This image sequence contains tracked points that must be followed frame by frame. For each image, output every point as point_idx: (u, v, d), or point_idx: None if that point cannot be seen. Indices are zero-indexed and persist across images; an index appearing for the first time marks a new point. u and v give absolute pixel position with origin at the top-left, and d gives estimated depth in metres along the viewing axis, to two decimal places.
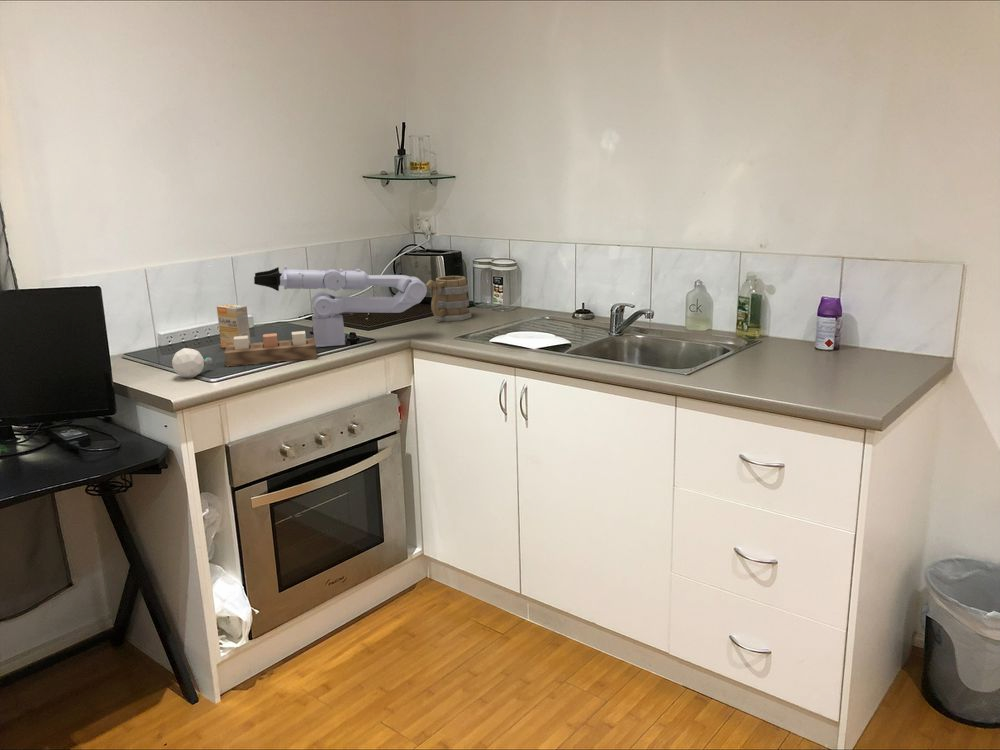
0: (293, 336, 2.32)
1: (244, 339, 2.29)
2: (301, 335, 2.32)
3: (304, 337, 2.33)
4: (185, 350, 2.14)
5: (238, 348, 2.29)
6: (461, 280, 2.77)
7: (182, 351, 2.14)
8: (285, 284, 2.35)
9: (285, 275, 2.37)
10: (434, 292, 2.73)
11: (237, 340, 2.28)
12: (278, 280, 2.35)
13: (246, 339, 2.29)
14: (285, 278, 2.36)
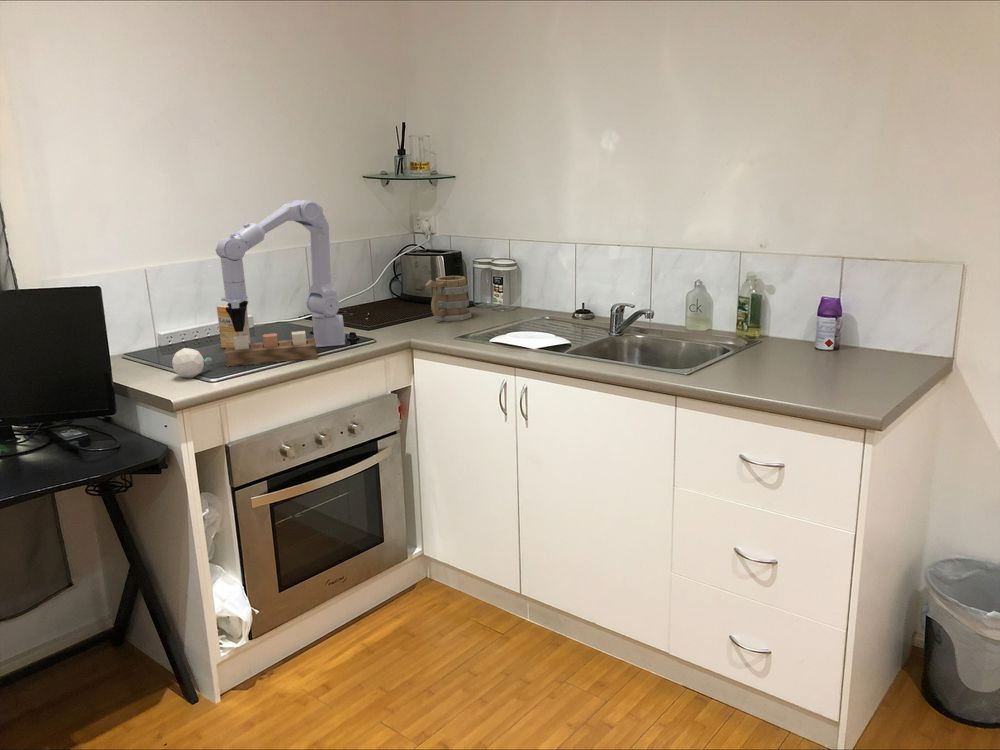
0: (293, 336, 2.32)
1: (244, 339, 2.29)
2: (301, 335, 2.32)
3: (304, 337, 2.33)
4: (185, 350, 2.14)
5: (238, 348, 2.29)
6: (461, 280, 2.77)
7: (182, 351, 2.14)
8: (237, 302, 2.21)
9: (229, 301, 2.23)
10: (434, 292, 2.73)
11: (237, 340, 2.28)
12: (234, 309, 2.22)
13: (246, 339, 2.29)
14: (231, 302, 2.21)
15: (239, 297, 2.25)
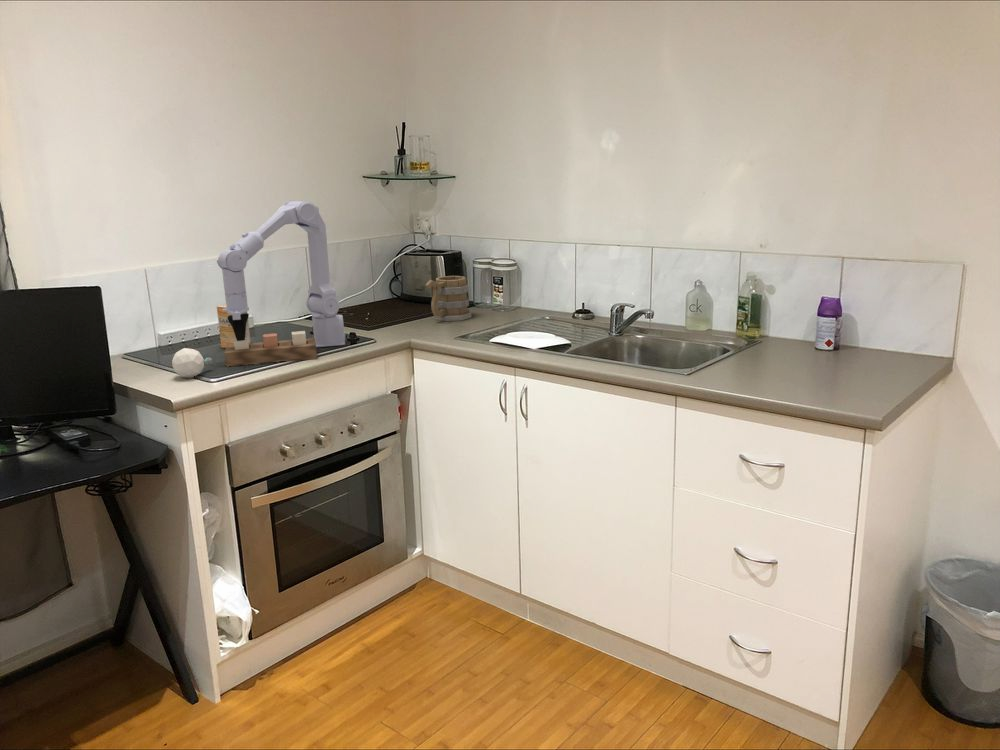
0: (293, 336, 2.32)
1: (244, 342, 2.29)
2: (301, 335, 2.32)
3: (304, 337, 2.33)
4: (185, 350, 2.14)
5: None
6: (461, 280, 2.77)
7: (182, 351, 2.14)
8: (238, 314, 2.21)
9: (230, 312, 2.24)
10: (434, 292, 2.73)
11: (237, 343, 2.28)
12: None
13: (246, 342, 2.29)
14: (232, 314, 2.22)
15: (240, 308, 2.26)
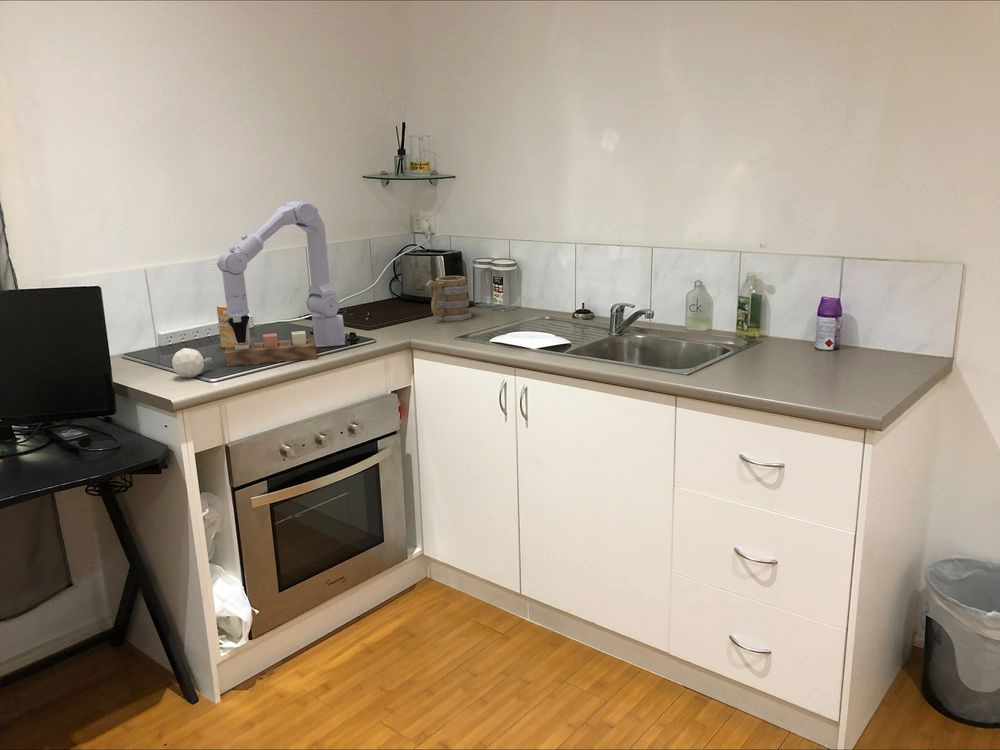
0: (293, 336, 2.32)
1: (245, 348, 2.29)
2: (301, 335, 2.32)
3: (304, 337, 2.33)
4: (185, 350, 2.14)
5: None
6: (461, 280, 2.77)
7: (182, 351, 2.14)
8: (238, 316, 2.22)
9: (230, 315, 2.24)
10: (434, 292, 2.73)
11: (238, 349, 2.29)
12: None
13: (247, 348, 2.30)
14: (232, 316, 2.22)
15: (241, 311, 2.26)
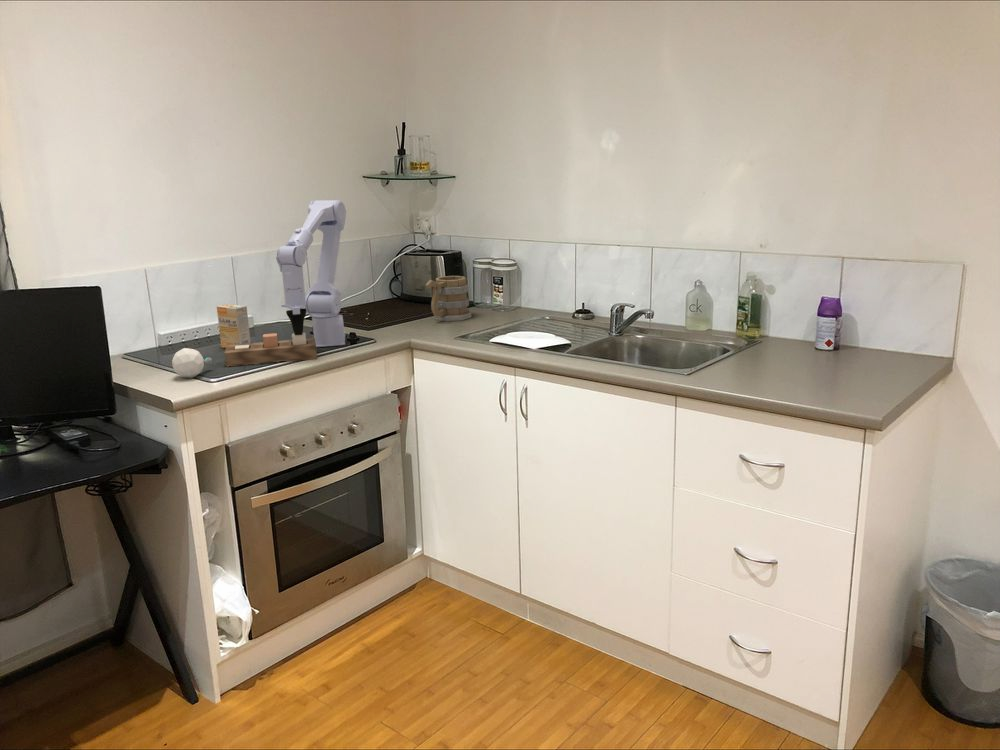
0: (293, 338, 2.32)
1: (245, 348, 2.29)
2: (301, 337, 2.33)
3: (304, 339, 2.33)
4: (185, 350, 2.14)
5: None
6: (461, 280, 2.77)
7: (182, 351, 2.14)
8: (298, 308, 2.25)
9: (289, 307, 2.27)
10: (434, 292, 2.73)
11: (238, 349, 2.29)
12: None
13: (247, 348, 2.30)
14: (292, 308, 2.25)
15: (299, 303, 2.29)
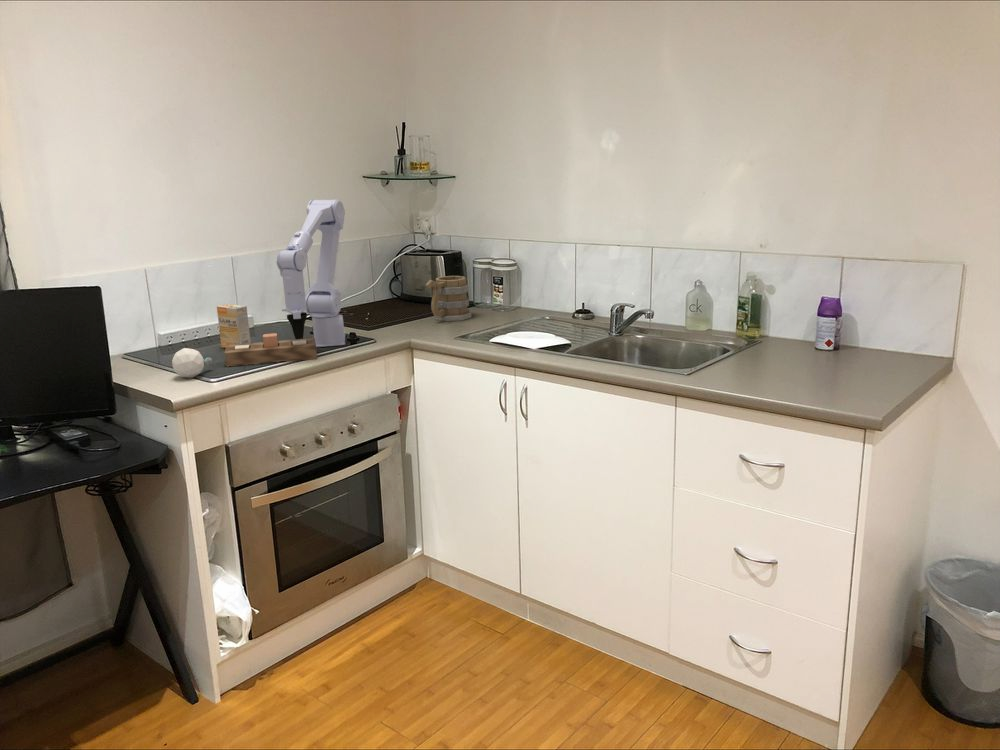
0: None
1: (245, 348, 2.29)
2: None
3: None
4: (185, 350, 2.14)
5: None
6: (461, 280, 2.77)
7: (182, 351, 2.14)
8: (298, 313, 2.25)
9: (290, 312, 2.28)
10: (434, 292, 2.73)
11: (238, 349, 2.29)
12: None
13: (247, 348, 2.30)
14: (292, 313, 2.26)
15: (300, 307, 2.30)
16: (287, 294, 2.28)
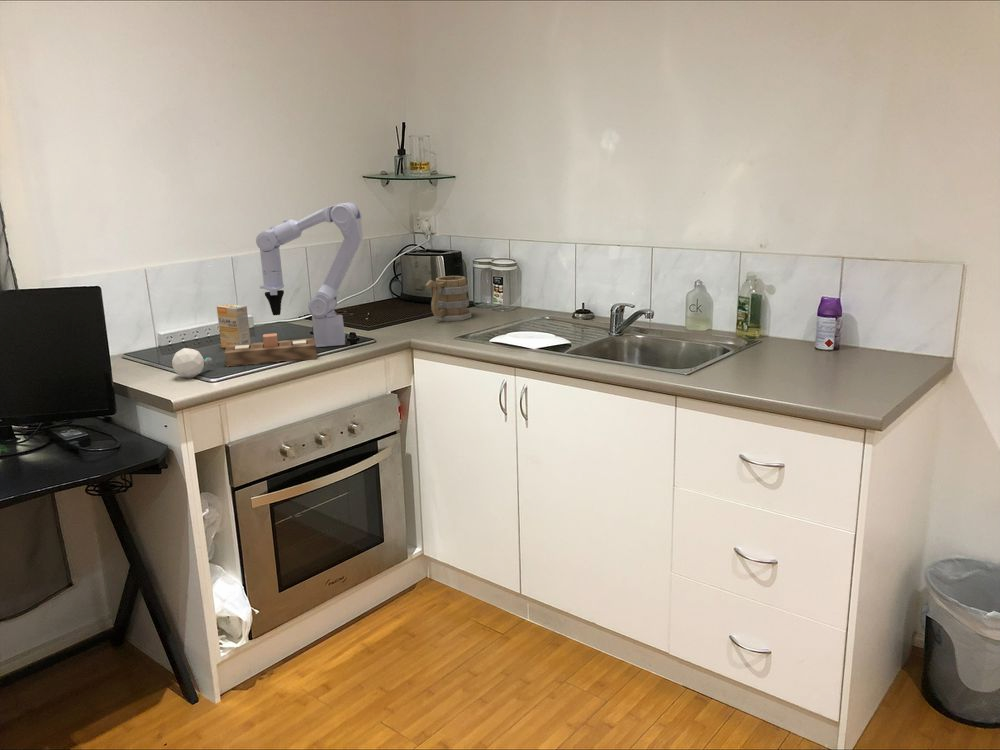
0: None
1: (245, 348, 2.29)
2: None
3: None
4: (185, 350, 2.14)
5: None
6: (461, 280, 2.77)
7: (182, 351, 2.14)
8: (275, 290, 2.40)
9: (267, 288, 2.42)
10: (434, 292, 2.73)
11: (238, 349, 2.29)
12: None
13: (247, 348, 2.30)
14: (269, 289, 2.40)
15: (277, 285, 2.44)
16: (265, 272, 2.43)
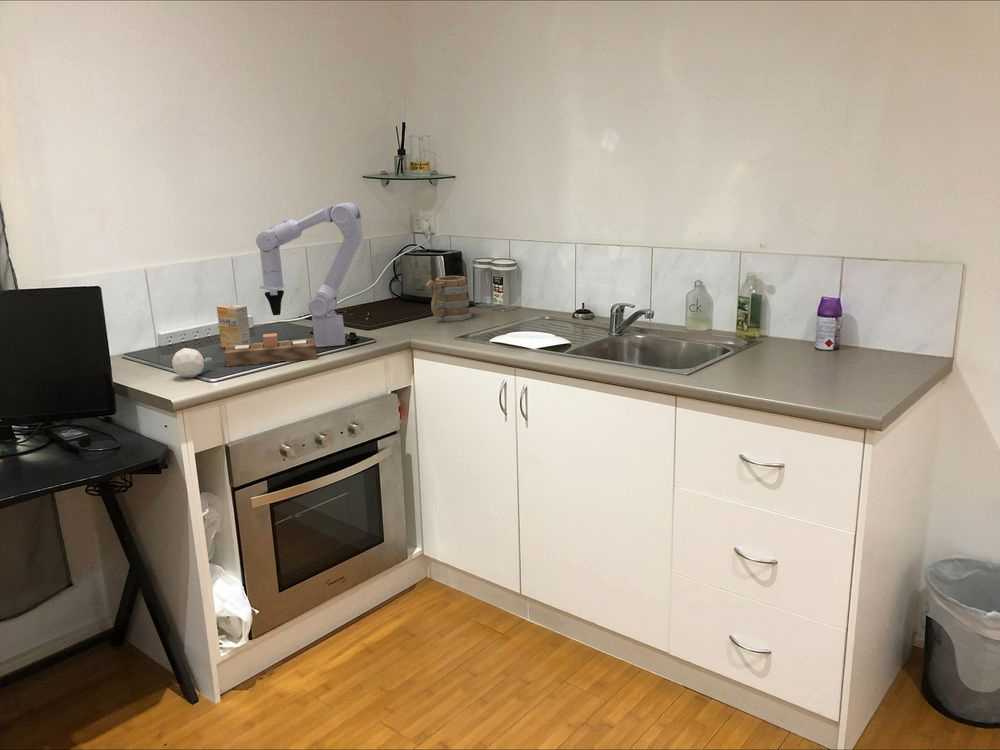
0: None
1: (245, 348, 2.29)
2: None
3: None
4: (185, 350, 2.14)
5: None
6: (461, 280, 2.77)
7: (182, 351, 2.14)
8: (275, 290, 2.40)
9: (267, 288, 2.42)
10: (434, 292, 2.73)
11: (238, 349, 2.29)
12: None
13: (247, 348, 2.30)
14: (269, 289, 2.40)
15: (277, 285, 2.44)
16: (265, 272, 2.43)
